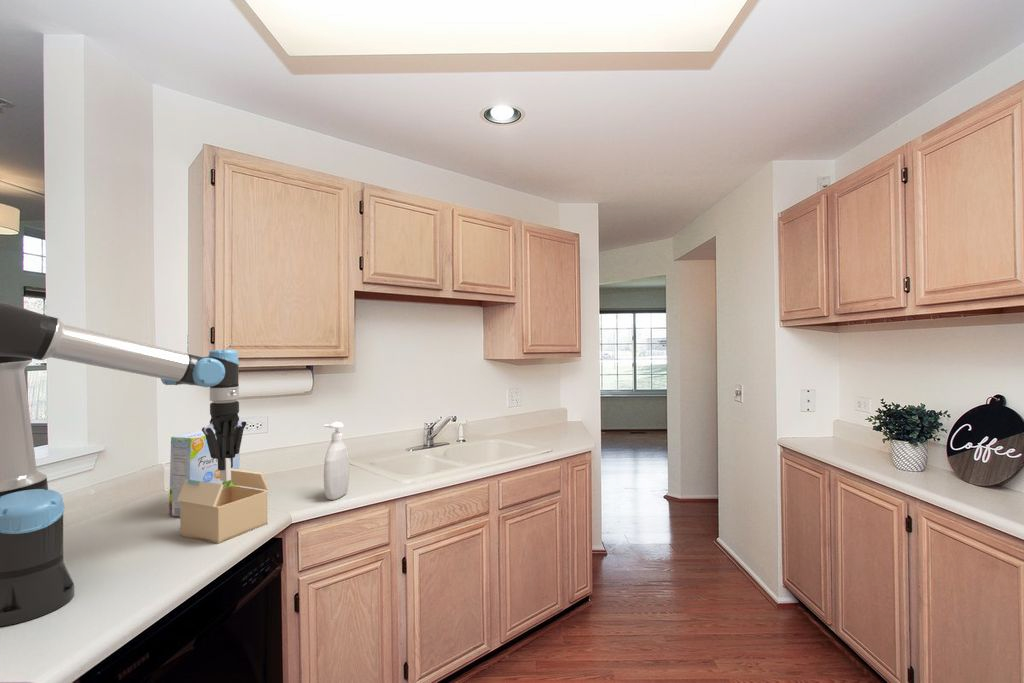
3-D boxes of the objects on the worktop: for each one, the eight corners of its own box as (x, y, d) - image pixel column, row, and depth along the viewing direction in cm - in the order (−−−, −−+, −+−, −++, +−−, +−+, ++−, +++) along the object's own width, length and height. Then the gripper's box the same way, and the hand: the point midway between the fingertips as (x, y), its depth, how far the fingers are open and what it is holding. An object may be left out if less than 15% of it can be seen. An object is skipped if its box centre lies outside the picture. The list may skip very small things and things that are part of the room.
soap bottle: (335, 489, 185) (335, 418, 185) (355, 490, 183) (355, 418, 183) (313, 502, 170) (313, 424, 170) (335, 503, 169) (334, 425, 169)
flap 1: (215, 507, 135) (212, 506, 134) (179, 500, 141) (176, 500, 140) (223, 484, 137) (220, 484, 137) (188, 479, 143) (185, 478, 142)
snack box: (190, 518, 155) (190, 437, 155) (167, 517, 157) (167, 436, 157) (241, 497, 176) (241, 426, 176) (220, 496, 178) (220, 425, 178)
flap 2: (260, 474, 148) (262, 472, 149) (225, 469, 154) (228, 467, 155) (267, 489, 151) (269, 487, 152) (233, 484, 157) (235, 482, 157)
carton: (218, 543, 135) (218, 507, 135) (180, 535, 141) (180, 500, 142) (267, 523, 150) (267, 491, 150) (231, 517, 156) (230, 485, 156)
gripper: (212, 404, 138) (213, 487, 139) (252, 399, 150) (253, 475, 151) (194, 403, 141) (195, 484, 141) (235, 398, 153) (236, 473, 153)
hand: (225, 480), depth 146 cm, fingers closed
